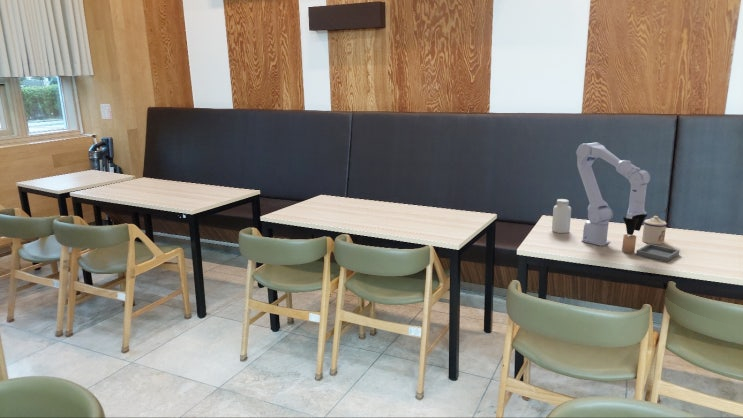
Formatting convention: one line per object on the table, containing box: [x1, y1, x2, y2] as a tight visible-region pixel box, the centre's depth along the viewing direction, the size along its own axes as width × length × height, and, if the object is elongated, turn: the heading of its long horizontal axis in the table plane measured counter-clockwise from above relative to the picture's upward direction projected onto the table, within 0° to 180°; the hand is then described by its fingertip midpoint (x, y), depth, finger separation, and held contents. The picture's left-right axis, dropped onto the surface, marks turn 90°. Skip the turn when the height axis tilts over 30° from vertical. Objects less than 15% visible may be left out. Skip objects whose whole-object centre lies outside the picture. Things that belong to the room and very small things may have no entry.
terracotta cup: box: [621, 233, 637, 255], centre depth 228 cm, size 5×5×7 cm
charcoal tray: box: [635, 243, 680, 263], centre depth 224 cm, size 12×13×2 cm
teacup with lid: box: [641, 215, 668, 246], centre depth 241 cm, size 12×9×12 cm
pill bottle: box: [551, 198, 572, 234], centre depth 255 cm, size 8×8×15 cm
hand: (633, 232), depth 226 cm, fingers open, 7 cm apart
